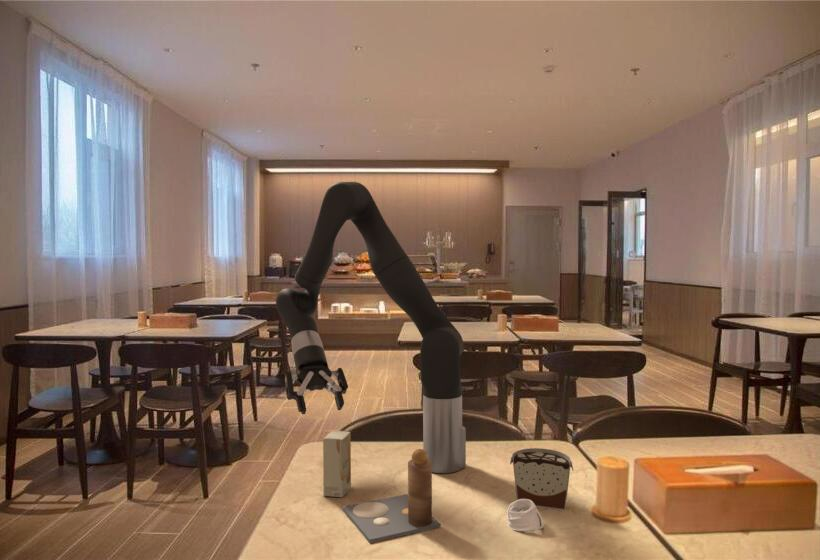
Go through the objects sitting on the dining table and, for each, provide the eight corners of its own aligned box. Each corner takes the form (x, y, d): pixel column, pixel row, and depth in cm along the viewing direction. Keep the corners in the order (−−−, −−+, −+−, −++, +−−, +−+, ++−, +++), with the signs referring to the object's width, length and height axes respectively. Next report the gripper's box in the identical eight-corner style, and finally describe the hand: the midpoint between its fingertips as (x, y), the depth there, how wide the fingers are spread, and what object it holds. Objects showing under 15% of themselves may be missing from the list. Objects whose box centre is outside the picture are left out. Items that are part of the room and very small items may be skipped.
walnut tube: (425, 514, 110) (425, 444, 110) (436, 523, 106) (435, 451, 106) (404, 518, 108) (404, 447, 108) (414, 528, 104) (414, 454, 104)
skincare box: (342, 498, 119) (342, 439, 119) (322, 496, 120) (322, 438, 120) (352, 486, 125) (351, 430, 125) (332, 485, 126) (332, 429, 126)
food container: (575, 499, 118) (575, 450, 118) (573, 511, 112) (573, 460, 112) (514, 491, 122) (514, 444, 122) (509, 503, 116) (509, 454, 116)
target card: (406, 496, 120) (406, 493, 120) (440, 526, 106) (440, 523, 106) (342, 509, 114) (342, 506, 114) (369, 543, 100) (369, 539, 100)
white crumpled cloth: (549, 539, 103) (552, 513, 103) (514, 539, 102) (517, 512, 102) (533, 516, 111) (536, 492, 111) (499, 516, 110) (502, 491, 110)
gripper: (282, 345, 136) (294, 404, 126) (339, 342, 142) (355, 398, 132) (277, 364, 141) (289, 422, 131) (333, 360, 147) (348, 415, 137)
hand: (322, 410), depth 132 cm, fingers open, 8 cm apart
